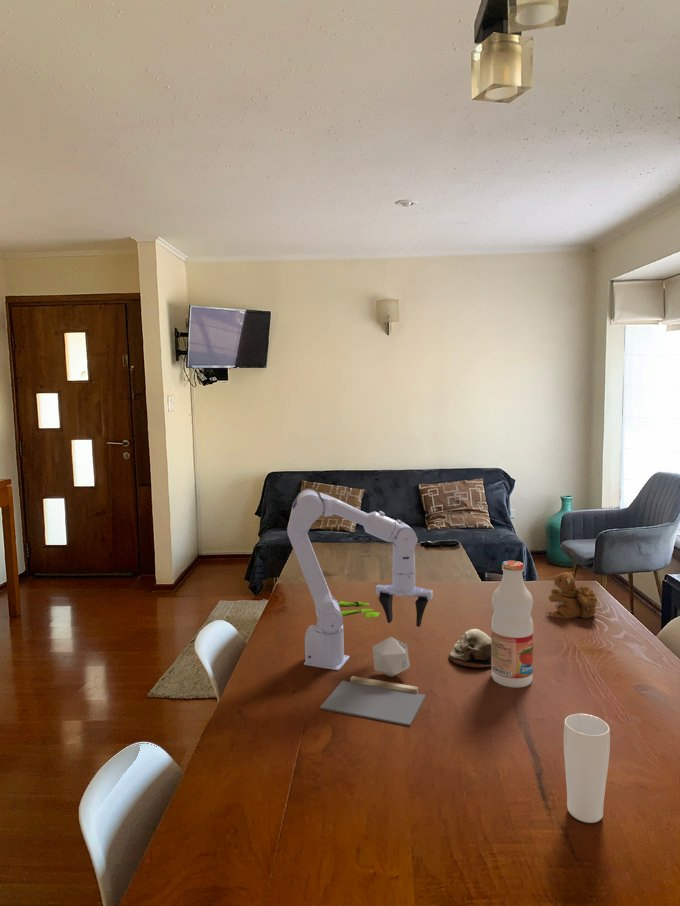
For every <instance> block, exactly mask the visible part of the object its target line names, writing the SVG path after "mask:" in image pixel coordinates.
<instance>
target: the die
mask: <svg viewBox="0 0 680 906" xmlns="http://www.w3.org/2000/svg"><path fill="white" fill-rule="evenodd" d="M371 650H372V657H373V658H372V659H373V667H374V668H373V669H374V671H376V672H379V673H382V674H384V675H385V676H387V677H390V678H392V677H394V676H396V675H398V674H400V673H402V672H404V671H405V670H407V669H409V668H411V665H410V660H409V659H410V657H409V648H408V644H407V643H405V642H403V641H400V640H399V639H397V638H394V637H392V636H389V637H388V638H386V639H384V640H382V641H380V642H378V643H377V644H374V645H373V646H372V649H371Z"/></svg>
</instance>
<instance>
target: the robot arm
mask: <svg viewBox="0 0 680 906" xmlns="http://www.w3.org/2000/svg"><path fill="white" fill-rule="evenodd" d="M322 515H323V518H326V517H327V518H328V517H330V516H333V515H334V516H335V515H336V516H338V517H340V518H343V519H346V520H348V521H350V522H353V523H355V524H358V525H361V526H362V527H363V528H364V532H365V533H367V534H368V535H371V536H373V537H376V538H378V539H379V540H383V541H385V542H388V543H392V553H391V554H392V556H391V557H392V560H391V561H392V572H391V573H392V584H377V585H376V586H375V594H376V595H379V597H378V601H379V603H380V605H381V606H382V608H383V611H384V613H385V616H386V622H387V624H391V623H392V622H393V598H394V596H398V597H399V596H400V597H409V598H417V599H416V600H415V610H416V621H415V622H416V627H417V628H419V627H421V626H422V620H423V616H424V613H425V610H426V607H427V605H428V603H429V601H431V600H432V599H433V598H434V591H433V589H427V588H424V587H423V588H422V587H418V586H416V553H415V550H416V549H415V547H416V545H417V544H418V540H419V539H418V537H417V533H416V531H415V530H414V529H413V528H412V527H410V526H409V525H408V524H406V523H405V522H404V521H402V520H400V519H396V520H395V519H394V518H391V517H388V516H387V515H386V514H385V512H384V511H382V510H379V511H378V512H377V511H372V512H369V513H368V512H365V511H362V510H360V509H358V508H357V507H355V506H352V505H350V504H349V503H346V502H345V501H342V500H340V499H337V498H336V497H334V496H331V495H328V494H325V493H322V492H319V493H318V492H317V491H316V490H314V489H310V488H309V489H304V490H302V491H300V492H298V495H297V496H296V498H295V499H294V501H293V502H292V506H291V511H290V515H289V521H288V524H287V528H286V530H287V531H286V532H287V536H288V539H289V541H290V544H291V546H292V549H293V551H294V554H295V556H296V558H297V561H298V565H299V566H300V569H301V572H302V574H303V577H304V580H305V582H306V585H307V587H308V589H309V592H310V595H311V597H312V600H313V604H314V606H315V609H314V610H315V614H316V617H317V622H316V624H315V625H312V624H311V625H309V626H308V628H307V629H306V631H305V636H304V654H305V655H304V656H305V657H304V660H305V661H304V662H303V665H304V666H309V667H315V668H320V669H321V668H322V669H328V670H334V671H339V670H340V669H341V668H342V667H344V665H345V664H346V662H347V661H348V660H349V659H351V657H350V655H347V654H345V647H344V646H345V645H344V644H345V643H344V642H345V639H344V616H342V614H341V612H342V611H341V607H340V606H339V602H338V600H337V599H336V598H335V597H334V596H333V595H332V594H331V591H330V588H329V587H328V583H327V581H326V578H325V576H324V572H323V571H322V568H321V565H320V564H319V563H320V562H319V561H318V558H317V555H316V553H315V550H314V548H313V545H312V543H311V540H310V537H309V535H308V532H309V531H310V529H311V527H312V525H313V524H314V523H315V522H316V521H317V520H318V519H319V518H320V517H321V516H322Z"/></svg>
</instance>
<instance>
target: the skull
mask: <svg viewBox="0 0 680 906" xmlns="http://www.w3.org/2000/svg"><path fill="white" fill-rule="evenodd" d="M448 658H449V659H450V661H452V662H453V663H455V664H458V666H459V665H460V666H464V667H471V668H488V667H491V637H490V636H489V635H488V634H487V633H485V632H484V631H482V630H480V629H479V628H472V629H469V630H467V631H465V632H464V635H461V636H460V637H459V640H457V642H455V644H454V645H453V650H452V651H451V652H450V653H449V655H448Z"/></svg>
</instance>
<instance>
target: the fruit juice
mask: <svg viewBox="0 0 680 906" xmlns="http://www.w3.org/2000/svg"><path fill="white" fill-rule="evenodd" d="M501 570H502V571H503V572H502V579H501V581H500V584H499V586H497V587H496V589H495V590H494V592H493V593H492V599H491V600H492V601H491V602H492V606H493V609H494V610H493V611H494V612H493V613H492V614H493V615H492V616H491V637H490V638H491V666H490V667H491V668H490V669H491V670H490V671H491V673H490V674H491V678H492V680H493V682H495V683H497V684H499V685H500V686H504V687H508V688H517V689H518V688H524V687H528V686H529V685H530V684H532V681H533V677H534V675H533V673H534V669H533V668H534V666H533V665H534V664H533V663H534V620H533V617H532V614H531V612H532V609H533V606H534V600H533V599H534V598H533V596H532V594H531V592H530V591H529V590H528V588H527V587H526V585H525V581H524V578H523V572H524V570H525V564H524V563H523V562H521V561H517V560H506V561H505V560H504V561H502V563H501Z"/></svg>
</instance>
